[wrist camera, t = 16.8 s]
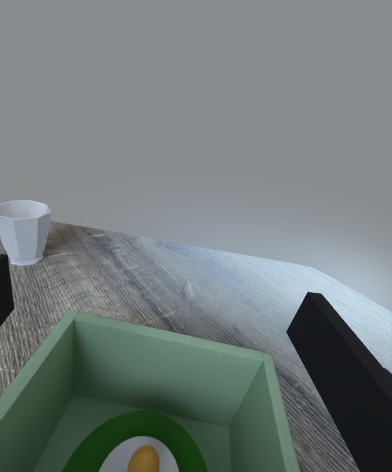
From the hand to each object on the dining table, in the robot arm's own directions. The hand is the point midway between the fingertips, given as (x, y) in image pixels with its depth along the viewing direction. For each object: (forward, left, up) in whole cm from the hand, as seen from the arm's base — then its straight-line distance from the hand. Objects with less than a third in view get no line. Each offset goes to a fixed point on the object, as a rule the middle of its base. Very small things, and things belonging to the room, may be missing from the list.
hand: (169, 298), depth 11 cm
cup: (-23, +23, -17) cm, 37 cm away
